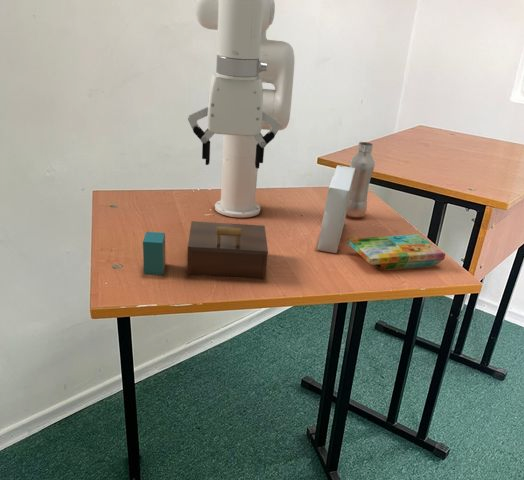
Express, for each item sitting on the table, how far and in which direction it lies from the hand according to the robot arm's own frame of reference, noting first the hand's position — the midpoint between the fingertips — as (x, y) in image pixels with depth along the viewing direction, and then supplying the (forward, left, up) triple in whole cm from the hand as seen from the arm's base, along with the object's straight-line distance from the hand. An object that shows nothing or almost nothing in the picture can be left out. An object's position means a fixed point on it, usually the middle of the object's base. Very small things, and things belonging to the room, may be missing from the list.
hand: (232, 164), depth 114 cm
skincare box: (-18, +33, -24) cm, 45 cm away
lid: (-5, +1, -17) cm, 18 cm away
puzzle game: (-2, +42, -24) cm, 49 cm away
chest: (-5, +1, -24) cm, 25 cm away
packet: (-5, -15, -24) cm, 29 cm away
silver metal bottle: (-32, +46, -24) cm, 62 cm away
